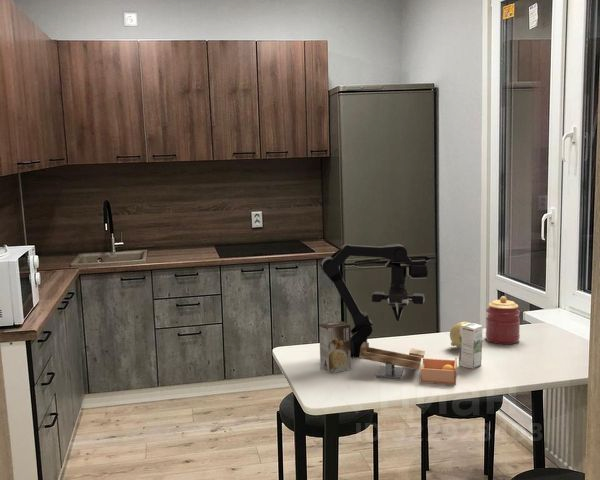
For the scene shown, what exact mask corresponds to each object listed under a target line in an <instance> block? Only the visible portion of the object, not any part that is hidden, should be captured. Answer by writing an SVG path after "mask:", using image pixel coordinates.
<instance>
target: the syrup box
mask: <svg viewBox="0 0 600 480" xmlns="http://www.w3.org/2000/svg"><path fill="white" fill-rule="evenodd" d="M483 327H484V326H483V325H481V324H478V323H475V322H474V323H473V322H469V323H467V324H464V325H461V326H460V338H459V347H458V366H460V367H463V368H468V369H472V370H473V369H476V368H478V367H480V366H481V365H482V355H483V353H482V349H483V329H484V328H483Z"/></svg>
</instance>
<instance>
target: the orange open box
mask: <svg viewBox="0 0 600 480" xmlns="http://www.w3.org/2000/svg"><path fill="white" fill-rule="evenodd" d="M445 365H451V366H453V368H454V370H442V368H443V366H445ZM457 366H458V357H454V360H453V359H442V358H441V359H440V358H439V359H438V358H425V357H424V358H422V365H421V368H419V370H420V371H419V372H420V373H419V374H420V375H419V378H420V379H419V382H420V383H427V384H441V385H442V384H443V385H444V384H445V385H455V386H456V385H457V384H456V383H457V375H458V374H457V373H458V372H457V369H458V368H457Z"/></svg>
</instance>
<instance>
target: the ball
mask: <svg viewBox="0 0 600 480" xmlns="http://www.w3.org/2000/svg"><path fill="white" fill-rule="evenodd" d="M442 370H454V368H453V366H451V365H445V366H443V368H442Z"/></svg>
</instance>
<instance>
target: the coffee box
mask: <svg viewBox="0 0 600 480" xmlns="http://www.w3.org/2000/svg"><path fill="white" fill-rule="evenodd" d="M318 328H319V360H320V361H319V365H320V370H322V371H323V372H325V373H327V374H330V375H331V374H335V373H339V372H345V371H349V370H352V357H351V334H350V330H351V324H350V323H347V322H344V321H342V320H339V321H334V322H333V321H331V322H327V323H321V324H320V323H319V327H318Z"/></svg>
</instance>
